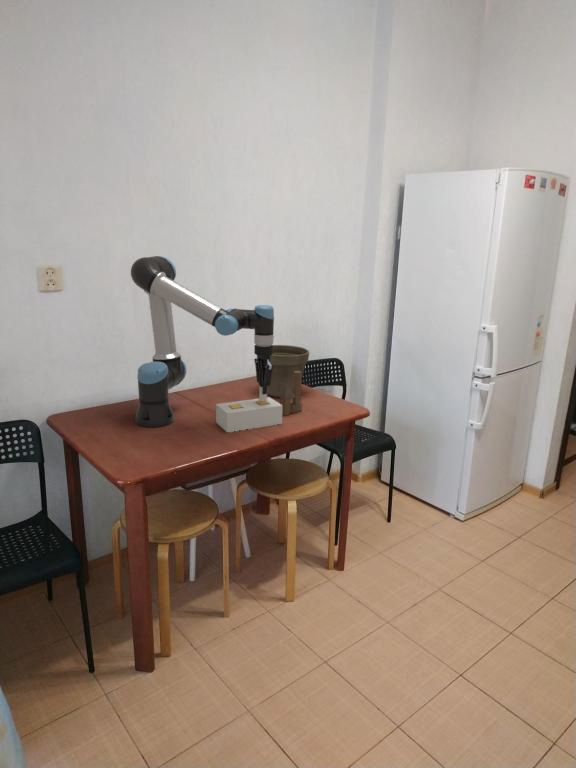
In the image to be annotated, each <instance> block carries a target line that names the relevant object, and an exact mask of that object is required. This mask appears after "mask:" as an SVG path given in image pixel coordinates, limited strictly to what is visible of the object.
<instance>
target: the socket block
mask: <svg viewBox="0 0 576 768" xmlns="http://www.w3.org/2000/svg"><path fill="white" fill-rule="evenodd" d="M256 401H259V398H253V399H246V400H239V401H230V402H221V403H216V405H215V413H216V414H215V415H216V418H215V423H216V424H217V425H218V426H219V427H220V428H222V430H224V431H225V432H226V433H227V434H228V432H229V433H234V431H235V432H240V431H239V430H241V431H246V429H248V430H253V428H254V429H260V428H264V427H265V428H266V427H270V426H272V427H273V426H278V424H279V425H283V415H282V407H283V405H281V404H279V402H278V401H276V400H275V399H273V398H271V397H270V396H267V401H268V402H269V404H268V405H258V404H257V403H256ZM236 404H239V405H240V406H242V408H239V409H231V408H230V407H229V405H236Z"/></svg>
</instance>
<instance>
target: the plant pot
mask: <svg viewBox="0 0 576 768" xmlns="http://www.w3.org/2000/svg"><path fill="white" fill-rule="evenodd" d="M272 345H273V354H272V355H271V356H270V364H271V365H272V364H273V369H272V375H271V382H270V386H267V396H269V397H270V396H271V397H274V398H279V394H280V383H283V384H286V385H287V387H288V388H289V389H290V390H291V391H292V392H293V372H294V371H301V372H302V376H303V374H304V371H305V368H306V364H307V363H308V361H309V357H310V356H309V355H310V350H309V349H307V348H304V347H301V346H296V345H289V344H288V345H287V344H285V345H284V344H272ZM257 356H258V355H256V357H257ZM302 376H301V379H302Z"/></svg>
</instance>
